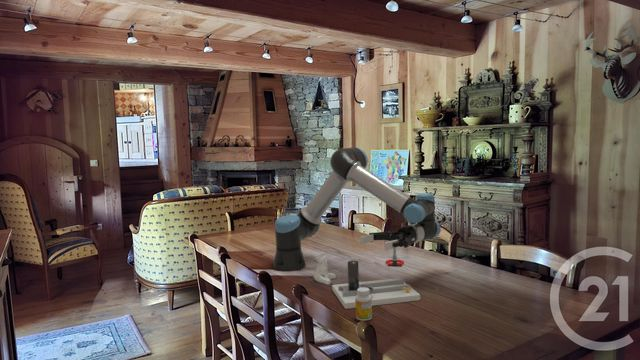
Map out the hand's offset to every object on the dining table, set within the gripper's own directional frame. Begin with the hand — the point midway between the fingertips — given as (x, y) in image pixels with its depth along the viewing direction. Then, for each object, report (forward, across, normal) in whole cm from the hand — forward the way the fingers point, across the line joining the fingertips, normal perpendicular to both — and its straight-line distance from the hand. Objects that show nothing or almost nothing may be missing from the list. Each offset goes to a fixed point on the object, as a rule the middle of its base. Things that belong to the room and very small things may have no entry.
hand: (372, 243), depth 169 cm
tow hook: (-32, +20, -19) cm, 43 cm away
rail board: (+3, -3, -19) cm, 19 cm away
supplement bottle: (+20, -16, -19) cm, 32 cm away
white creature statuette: (+7, +23, -19) cm, 31 cm away
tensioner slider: (+10, -3, -17) cm, 19 cm away
